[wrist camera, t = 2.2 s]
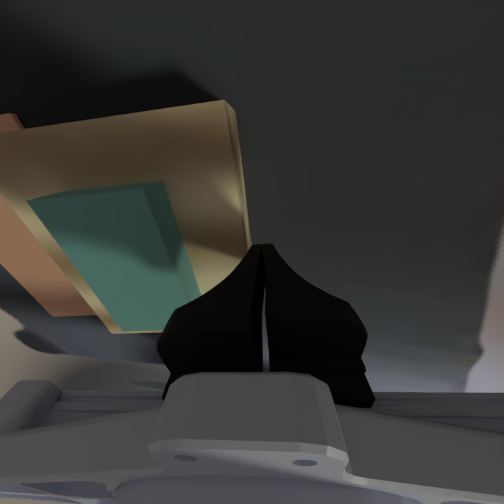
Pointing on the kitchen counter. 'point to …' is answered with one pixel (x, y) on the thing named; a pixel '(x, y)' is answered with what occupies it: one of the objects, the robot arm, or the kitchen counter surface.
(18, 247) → the terracotta mat
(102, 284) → the teal rectangular block
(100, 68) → the kitchen counter surface
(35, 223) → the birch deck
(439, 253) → the kitchen counter surface
